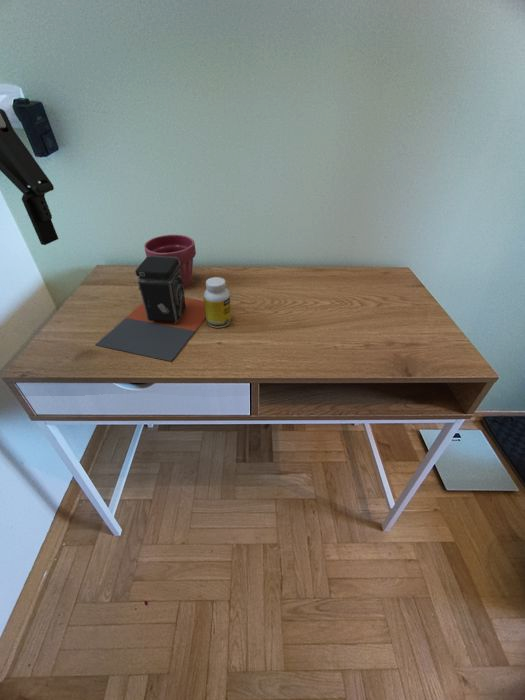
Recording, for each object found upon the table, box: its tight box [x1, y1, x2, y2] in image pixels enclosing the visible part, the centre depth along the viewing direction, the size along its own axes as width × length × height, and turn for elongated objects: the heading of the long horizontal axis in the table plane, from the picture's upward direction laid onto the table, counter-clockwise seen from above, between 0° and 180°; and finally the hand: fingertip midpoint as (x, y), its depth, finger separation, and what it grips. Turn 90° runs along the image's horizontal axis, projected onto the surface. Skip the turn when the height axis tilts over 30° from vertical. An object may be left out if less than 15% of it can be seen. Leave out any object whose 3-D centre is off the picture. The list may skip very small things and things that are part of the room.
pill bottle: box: [203, 276, 232, 329], centre depth 80 cm, size 6×6×12 cm
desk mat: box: [95, 297, 206, 363], centre depth 83 cm, size 20×26×1 cm
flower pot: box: [143, 234, 197, 289], centre depth 96 cm, size 14×14×13 cm
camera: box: [135, 256, 186, 324], centre depth 81 cm, size 10×10×15 cm
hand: (15, 237), depth 51 cm, fingers open, 13 cm apart
